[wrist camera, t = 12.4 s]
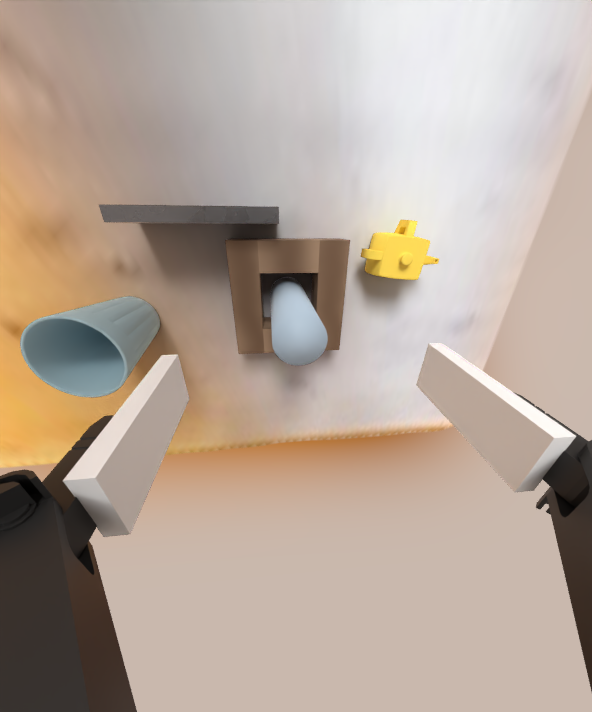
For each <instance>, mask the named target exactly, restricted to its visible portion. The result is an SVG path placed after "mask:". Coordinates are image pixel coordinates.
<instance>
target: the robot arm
mask: <svg viewBox="0 0 592 712" xmlns="http://www.w3.org/2000/svg"><path fill="white" fill-rule="evenodd" d="M416 385H417V386H418V388H419V389H420V390H421V391H422V392H423V393H424V394H425V395H426V396H427V397H428V398H429V400H430V401H431V402H432V403H433V404H434V405H435V406H436V407H437V408H438V409H439V410H440V412H441V413H442V414H443V415H444V416H445V417H446V418H447V419H448V420H449V421H450V422H451V423H452V425H453V426H454V427H455V428H456V429H457V430H458V431H459V432H460V433H461V434H462V435H463V436H464V438H465V439H466V440H467V441H468V442H469V443H470V444H471V445H472V446H473V447H474V449H475V450H476V451H477V452H478V453H479V454H480V455H481V456H482V457H483V458H484V459H485V461H486V462H487V463H488V464H489V465H490V466H491V467H492V468H493V469H494V470H495V471H496V472H497V473H498V475H499V476H500V477H501V478H502V479H503V480H504V481H505V482H506V483H507V485H508V486H509V487H510V488H511V489H512V490H513V491H514V492H523V491H532V490H534V489H535V488H536V487H537V486H538V484H539V483H540V482H541V481H542V479H543V480H544V481H545V482H546V483H547V484H549V486H551V487H550V488H549V489H548V490H547V491H546V493H545V494H544V495H543V496H542V497H541V499H540V500H539V501H538V502H537V505H536V508H538V509H541V508H542V507H543V506H544V504H549V508H548V510H547V511H546V512H547V513H549V514H551V517H552V521H553V525H554V530H555V534H556V539H557V543H558V547H559V552H560V556H561V560H562V564H563V569H564V573H565V577H566V582H567V586H568V591H569V595H570V599H571V604H572V608H573V612H574V617H575V621H576V626H577V630H578V634H579V639H580V643H581V647H582V652H583V656H584V660H585V664H586V669H587V673H588V677H589V682H590V686H591V691H592V440H591V441H587V440H585V439H584V438H583V437H581V436H580V435H578V434H577V433H575V432H574V431H572V430H571V429H569V428H568V427H566V426H565V425H564V424H562V423H561V422H559V421H558V420H556V419H555V418H553V417H552V416H550V415H549V414H545V412H544V411H543V410H542V409H540V408H539V407H537V406H534V404H532V403H531V402H530V401H528V400H527V399H525V398H524V397H522V396H521V395H518V394H516V393H514V392H512V391H510V390H509V389H507V388H506V387H504V386H503V385H502V384H500V383H499V382H497V381H496V380H494V379H493V378H491V377H490V376H489V375H487V374H486V373H484V372H483V371H481V370H480V369H479V368H477V367H476V366H474V365H473V364H471V363H470V362H468V361H467V360H466V359H464V358H463V357H461V356H460V355H458V354H457V353H455V352H454V351H453V350H451V349H450V348H448V347H447V346H445V345H444V344H442V343H433V344H428V348H427V351H426V354H425V358H424V361H423V364H422V368H421V371H420V374H419V378H418V381H417V384H416ZM188 401H189V395H188V391H187V387H186V383H185V379H184V376H183V372H182V368H181V364H180V360H179V356H178V354H176V355H161V357H160V358H159V359H158V360H157V362H156V363H155V364H154V366H153V367H152V368H151V369H150V371H149V372H148V373H147V374H146V376H145V377H144V378H143V380H142V381H141V382H140V383H139V385H138V386H137V387H136V388H135V390H134V391H133V392H132V393H131V395H130V396H129V397H128V399H127V400H126V401H125V402H124V404H123V405H122V406H121V407H120V409H119V410H118V411H117V413H116V414H115V415H111V416H104V417H103V418H101V419H100V420H98V421H97V422H96V423H94V424H93V425H91V426H90V427H89V429H88V430H87V431H86V432H85V433H84V434H83V435H82V437H81V438H80V440H78V441H77V442H76V444H75V445H74V446H73V447H72V450H70V451H69V452H68V453H67V454H66V455H65V456H64V457H63V459H62V460H61V461H60V462H59V463H58V464H57V466H56V467H55V468H54V469H53V470H52V471H51V473H50V474H49V475H48V476H47V477H46V478H45V480H44V481H43V482H41V481H40V479H39V478H38V477H37V476H36V474H35V473H34V472H33V471H29V470H19V471H13V472H10V473H7V474H5V475H2V476H0V712H137V710H136V706H135V703H134V699H133V695H132V692H131V688H130V684H129V680H128V677H127V673H126V669H125V666H124V662H123V658H122V654H121V651H120V647H119V643H118V640H117V636H116V632H115V628H114V625H113V621H112V617H111V614H110V610H109V606H108V602H107V599H106V595H105V591H104V587H103V584H102V580H101V577H100V573H99V569H98V565H97V561H96V558H95V554H94V550H93V547H92V545H91V543H90V542H89V539H90V538H91V536H92V534H93V532H94V530H95V529H96V527H97V528H98V530H99V531H100V532H101V534H102V535H103V537H109V536H118V535H127V534H130V533H131V531H132V529H133V527H134V524H135V522H136V520H137V518H138V515H139V513H140V511H141V508H142V506H143V504H144V502H145V499H146V497H147V495H148V492H149V490H150V488H151V486H152V483H153V481H154V479H155V476H156V474H157V472H158V469H159V467H160V465H161V463H162V460H163V458H164V456H165V453H166V451H167V449H168V447H169V444H170V442H171V440H172V437H173V435H174V433H175V431H176V428H177V426H178V424H179V421H180V419H181V417H182V415H183V412H184V410H185V408H186V405H187V403H188Z"/></svg>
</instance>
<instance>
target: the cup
mask: <svg viewBox="0 0 592 712" xmlns="http://www.w3.org/2000/svg"><path fill="white" fill-rule="evenodd" d="M159 328H160V319H159V316H158V314H157V312H156V310H155V309H154V308H153V307H152V306H151V305H150V304H149V303H147V302H146V301H144V300H142V299H140V298H136V297H132V296H128V297H121V298H116V299H112V300H108V301H105V302H101V303H97V304H93V305H89V306H85V307H81V308H78V309H74V310H70V311H66V312H62V313H58V314H54V315H50V316H46V317H42V318H40V319H37V320H35V321H33V322H32V323H30V324H29V325H28V326H27V327H26V328H25V330H24V332H23V333H22V336H21V341H20V346H21V352H22V355H23V357H24V360H25V361H26V363H27V365H28V366H29V367H30V369H31V370H32V371H33V372H34V373H35V374H36V375H37V376H38V377H39V378H40V379H42V380H43V381H44V382H46V383H47V384H49V385H50V386H52V387H54V388H56V389H58V390H60V391H62V392H65V393H68V394H71V395H75V396H80V397H101V396H105V395H108V394H111V393H113V392H115V391H116V390H118V389H119V388H120V387H121V386H122V385H123V384H124V382H125V381H126V379H127V378H128V376H129V375H130V373H131V372H132V370H133V368H134V367H135V365H136V364H137V362H138V361H139V359H140V358H141V356H142V355H143V353H144V352H145V350H146V349H147V348H148V346H149V345H150V343H151V342H152V340H153V339H154V337H155V336H156V334H157V332H158V330H159Z"/></svg>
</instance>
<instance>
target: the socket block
mask: <svg viewBox="0 0 592 712" xmlns="http://www.w3.org/2000/svg"><path fill="white" fill-rule="evenodd" d="M225 244H226V252H227V261H228V269H229V278H230V286H231V294H232V303H233V311H234V319H235V328H236V336H237V345H238V353H239V354H250V353H274V349H273V346H272V327H271V317H264V316H263V300H262V283H261V273H312V286H311V304H312V306H313V307H314V309H315V311H316V313H317V314H318V316H319V318H320V320H321V322H322V323H323V325H324V327H325V329H326V332H327V336H328V341H327V346H326V348H325V350H339V346H340V336H341V326H342V316H343V306H344V296H345V285H346V275H347V265H348V255H349V245H350V240H345V239H228V240H225Z"/></svg>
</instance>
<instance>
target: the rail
mask: <svg viewBox="0 0 592 712" xmlns="http://www.w3.org/2000/svg"><path fill="white" fill-rule="evenodd" d="M99 207H100V210H101V213H102V216H103V219H104V222H116V223H189V224H279V207H245V206H169V205H99Z"/></svg>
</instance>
